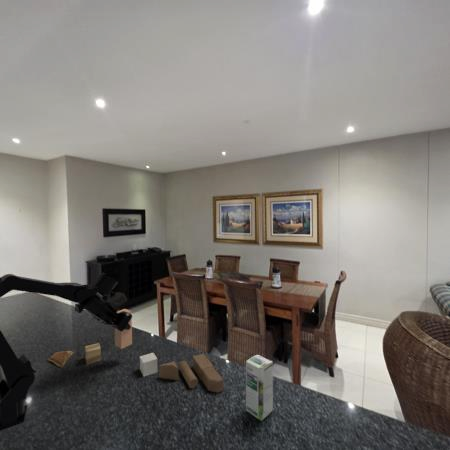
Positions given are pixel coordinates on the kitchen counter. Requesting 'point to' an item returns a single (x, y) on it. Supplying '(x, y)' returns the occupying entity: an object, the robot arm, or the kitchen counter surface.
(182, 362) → the wooden block set
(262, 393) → the syrup box
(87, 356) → the honey oak cube
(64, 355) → the shard
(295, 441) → the kitchen counter surface
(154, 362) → the grey plastic cube
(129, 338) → the terracotta block
